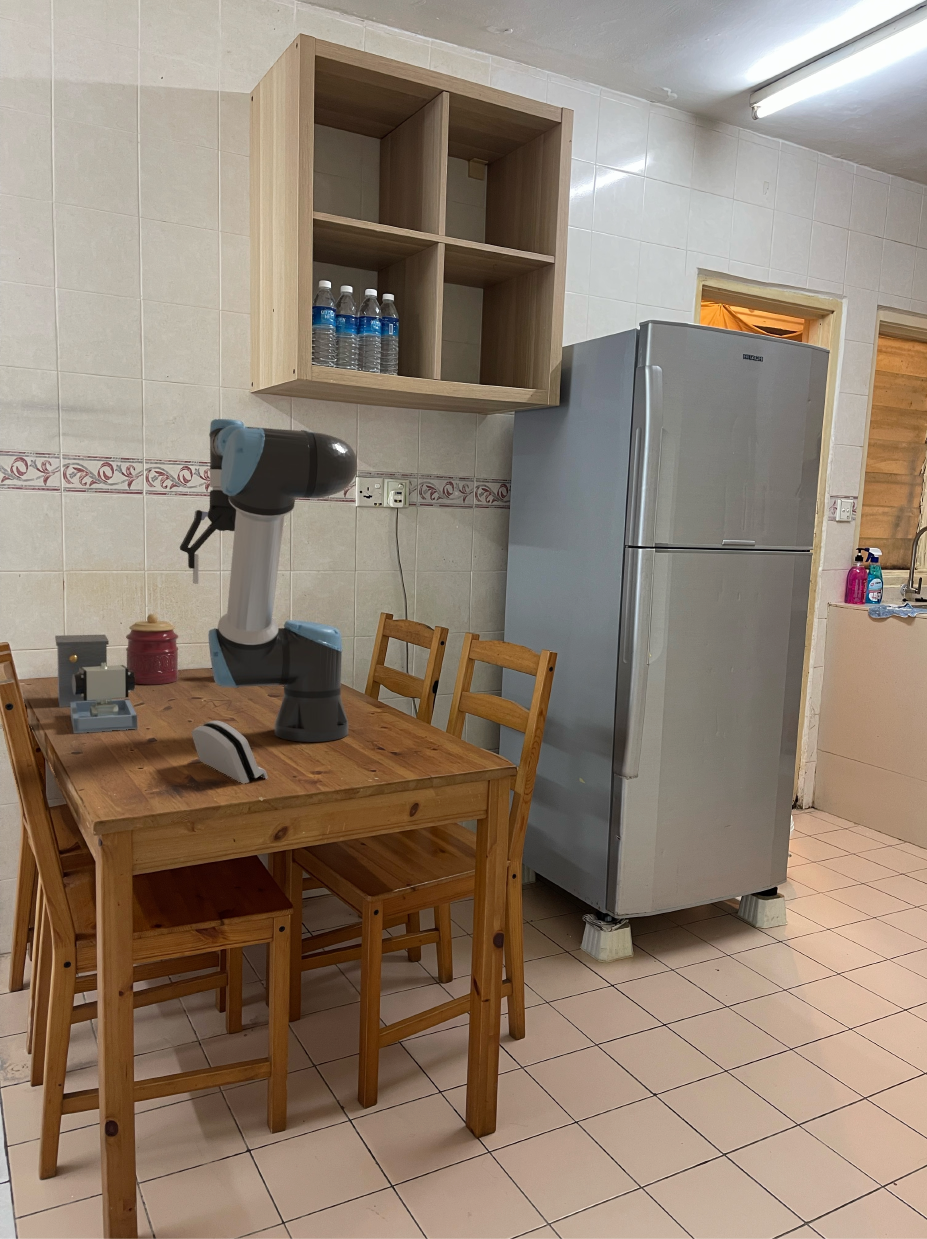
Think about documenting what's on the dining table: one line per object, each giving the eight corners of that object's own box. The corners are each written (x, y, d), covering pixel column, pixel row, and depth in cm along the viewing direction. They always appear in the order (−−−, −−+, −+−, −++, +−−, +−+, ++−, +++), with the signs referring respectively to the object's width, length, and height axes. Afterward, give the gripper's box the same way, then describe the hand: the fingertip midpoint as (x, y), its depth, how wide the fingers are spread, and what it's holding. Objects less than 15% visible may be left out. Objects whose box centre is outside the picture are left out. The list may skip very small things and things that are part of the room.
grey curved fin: (269, 779, 155) (252, 728, 152) (246, 793, 152) (227, 741, 149) (225, 757, 168) (208, 709, 164) (202, 769, 165) (184, 721, 162)
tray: (137, 729, 185) (137, 715, 185) (73, 733, 180) (73, 719, 180) (129, 711, 201) (129, 698, 200) (70, 715, 195) (70, 701, 195)
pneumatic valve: (135, 718, 191) (135, 662, 190) (76, 724, 185) (75, 666, 183) (129, 713, 196) (129, 658, 194) (71, 718, 189) (70, 662, 188)
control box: (109, 705, 206) (108, 641, 204) (57, 707, 202) (56, 642, 200) (105, 695, 216) (105, 634, 214) (56, 698, 211) (55, 635, 210)
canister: (124, 677, 239) (123, 611, 237) (174, 675, 245) (174, 610, 243) (128, 686, 228) (128, 617, 226) (181, 684, 233) (181, 616, 231)
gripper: (277, 492, 212) (276, 581, 215) (167, 487, 201) (167, 581, 204) (285, 491, 205) (284, 584, 208) (171, 486, 195) (171, 584, 197)
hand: (226, 583), depth 206 cm, fingers open, 13 cm apart
